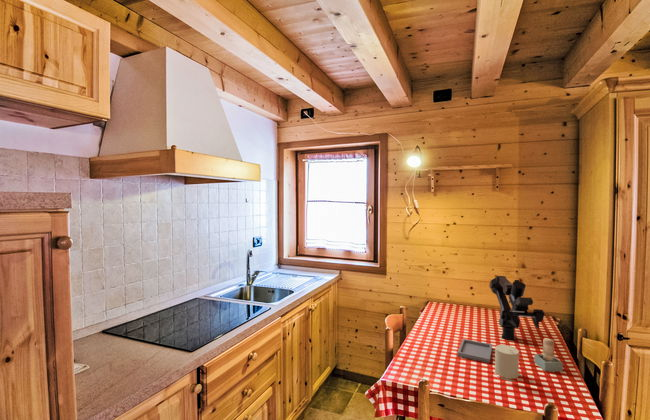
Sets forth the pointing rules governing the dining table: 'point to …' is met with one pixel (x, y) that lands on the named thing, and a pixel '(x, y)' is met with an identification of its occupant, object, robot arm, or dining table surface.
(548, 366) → the grey square bin
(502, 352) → the can
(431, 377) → the dining table surface
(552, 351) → the dowel
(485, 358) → the tray
